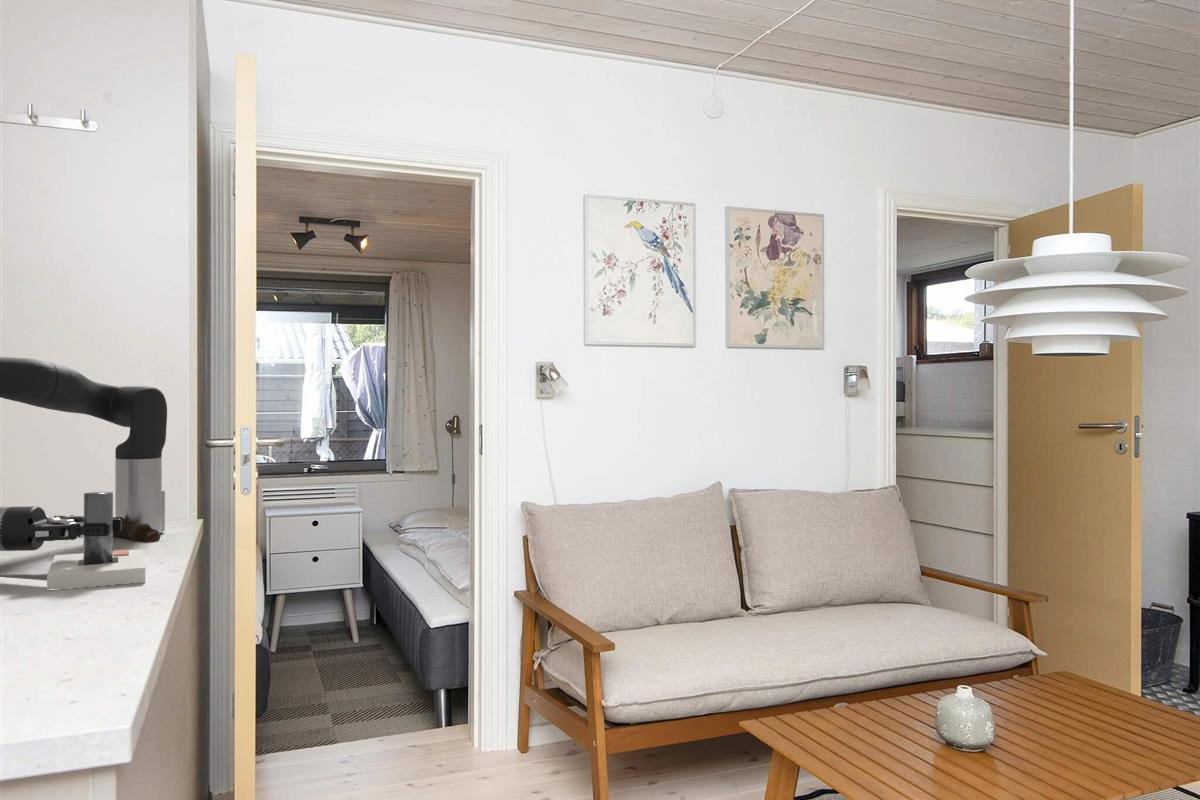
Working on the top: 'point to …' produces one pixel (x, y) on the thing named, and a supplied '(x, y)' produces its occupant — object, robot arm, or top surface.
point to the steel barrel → (98, 511)
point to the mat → (63, 553)
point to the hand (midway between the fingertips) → (115, 527)
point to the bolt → (137, 532)
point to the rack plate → (96, 570)
